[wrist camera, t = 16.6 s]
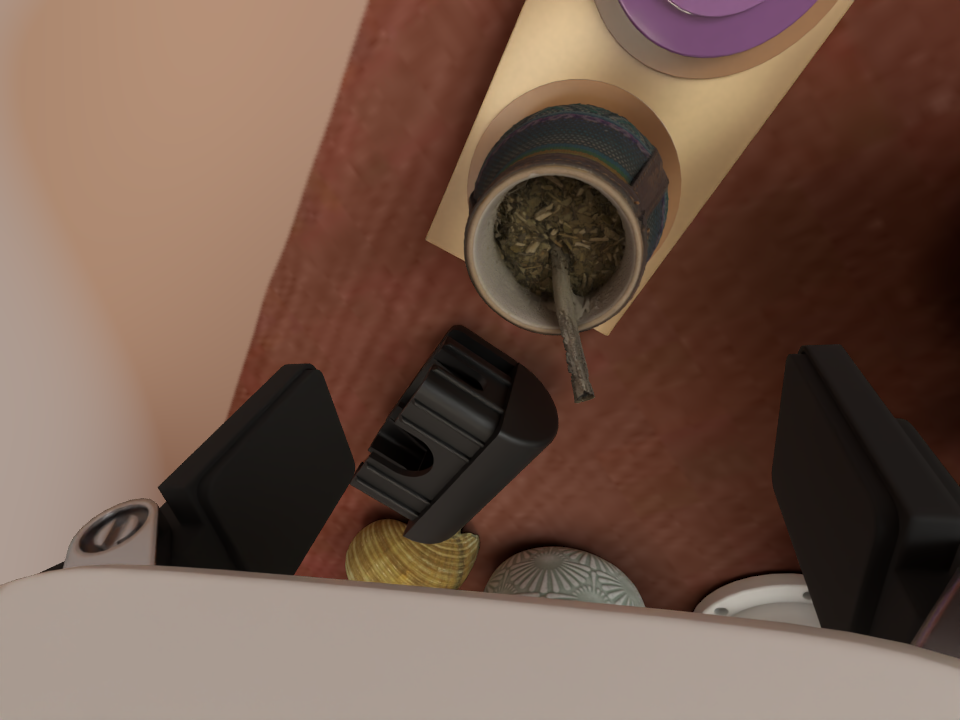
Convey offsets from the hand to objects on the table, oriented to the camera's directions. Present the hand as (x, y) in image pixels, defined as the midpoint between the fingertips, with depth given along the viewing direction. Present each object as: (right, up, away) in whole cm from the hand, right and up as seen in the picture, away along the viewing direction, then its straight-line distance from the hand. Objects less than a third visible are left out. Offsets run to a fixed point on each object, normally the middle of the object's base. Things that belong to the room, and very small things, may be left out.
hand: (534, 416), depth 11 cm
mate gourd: (+3, +8, +12) cm, 15 cm away
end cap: (-2, -1, +21) cm, 21 cm away
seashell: (-5, -12, +29) cm, 31 cm away
